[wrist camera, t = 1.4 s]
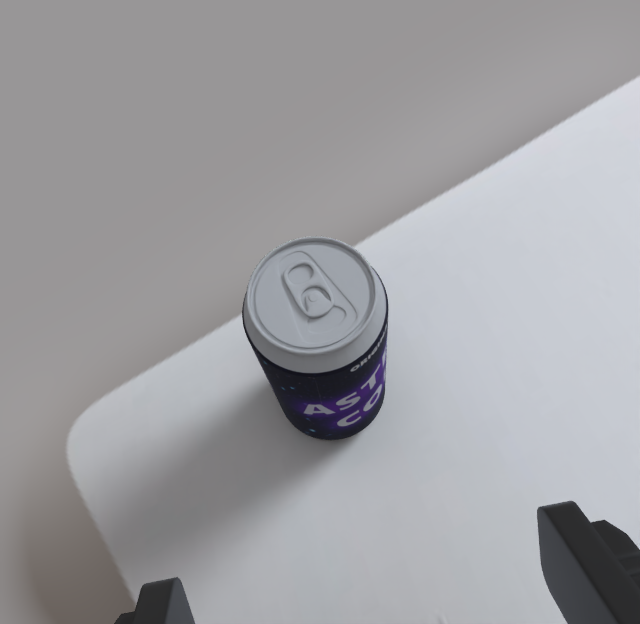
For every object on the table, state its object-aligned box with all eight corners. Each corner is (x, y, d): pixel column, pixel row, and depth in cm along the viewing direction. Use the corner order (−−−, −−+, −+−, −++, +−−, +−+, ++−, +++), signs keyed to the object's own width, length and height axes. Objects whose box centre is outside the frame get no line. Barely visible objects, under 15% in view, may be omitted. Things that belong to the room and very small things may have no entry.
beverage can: (309, 463, 32) (274, 392, 21) (263, 372, 34) (212, 266, 23) (404, 412, 32) (418, 318, 22) (353, 327, 35) (343, 204, 24)
